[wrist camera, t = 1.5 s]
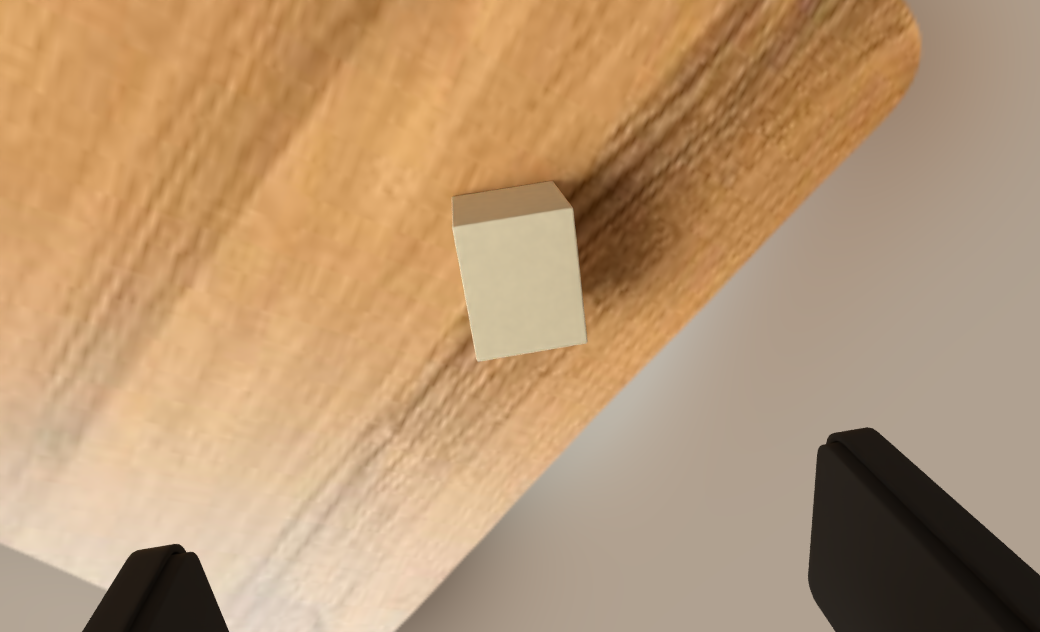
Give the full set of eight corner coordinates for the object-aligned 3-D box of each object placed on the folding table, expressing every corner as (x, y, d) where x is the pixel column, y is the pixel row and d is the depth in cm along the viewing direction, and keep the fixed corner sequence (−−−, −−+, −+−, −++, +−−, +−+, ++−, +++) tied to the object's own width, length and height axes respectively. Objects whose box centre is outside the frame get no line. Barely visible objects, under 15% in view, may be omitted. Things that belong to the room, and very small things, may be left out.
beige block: (552, 180, 25) (573, 207, 21) (566, 298, 27) (588, 343, 23) (451, 196, 25) (451, 226, 21) (472, 313, 27) (477, 362, 23)
